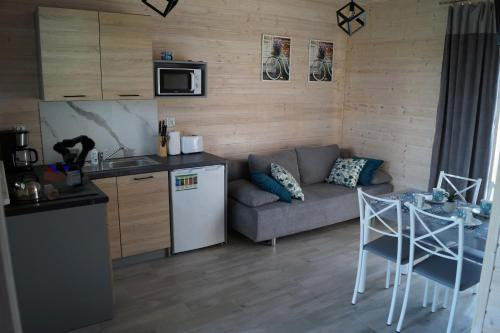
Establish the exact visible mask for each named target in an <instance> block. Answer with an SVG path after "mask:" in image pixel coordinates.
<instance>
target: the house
mask: <svg viewBox="0 0 500 333" xmlns="http://www.w3.org/2000/svg"><path fill="white" fill-rule="evenodd" d="M61 162H62V164H63V163H64V161H61ZM54 166H55V163H54V164H51V165H48V166H47V167H46V168H45V169H44V170H43V171H42V172H43V179H44V181H52V182H58V181H61V180H64V179H66V176H65V175H64V174H63V173H62V172H60V171H58V170H55V168H54ZM69 167H70V166H64V169H65V171H66V173H67V172H68V169H69Z"/></svg>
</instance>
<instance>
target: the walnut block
mask: <svg viewBox="0 0 500 333" xmlns="http://www.w3.org/2000/svg"><path fill="white" fill-rule="evenodd" d="M59 197H60V195H59V190H57V189H56V188H54V190H49V191H48V197H47V198H48V199H49V200H50V201H52V200H57V199H59Z"/></svg>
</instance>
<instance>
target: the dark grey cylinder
mask: <svg viewBox="0 0 500 333" xmlns="http://www.w3.org/2000/svg"><path fill="white" fill-rule="evenodd" d="M49 190H55V187H54V186H48V187H45V188H44V192H45V191H46V194H45V197H47V198H48V191H49Z"/></svg>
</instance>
